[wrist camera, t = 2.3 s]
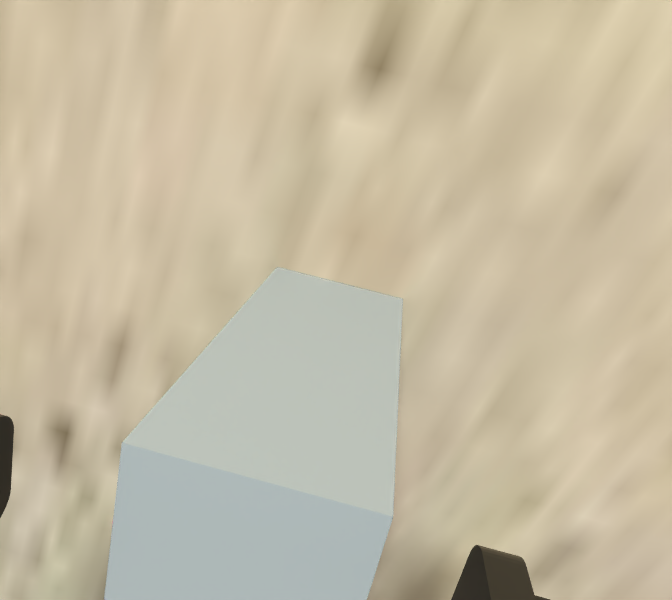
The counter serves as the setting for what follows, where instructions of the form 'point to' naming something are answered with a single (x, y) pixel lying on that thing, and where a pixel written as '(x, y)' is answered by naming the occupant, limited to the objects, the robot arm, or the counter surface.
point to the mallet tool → (267, 455)
